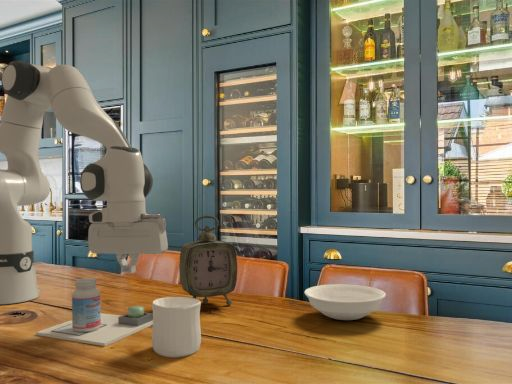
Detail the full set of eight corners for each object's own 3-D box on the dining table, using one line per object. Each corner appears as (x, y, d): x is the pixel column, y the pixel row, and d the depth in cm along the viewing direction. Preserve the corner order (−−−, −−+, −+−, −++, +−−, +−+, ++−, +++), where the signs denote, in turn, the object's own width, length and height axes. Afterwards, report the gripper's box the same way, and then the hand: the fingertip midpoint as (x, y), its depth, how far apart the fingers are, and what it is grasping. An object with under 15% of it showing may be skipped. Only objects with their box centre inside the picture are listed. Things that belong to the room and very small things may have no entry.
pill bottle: (91, 333, 101) (90, 282, 101) (66, 332, 102) (65, 282, 102) (106, 325, 107) (105, 277, 107) (82, 324, 108) (81, 276, 108)
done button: (125, 318, 109) (125, 308, 109) (134, 315, 112) (134, 305, 112) (137, 320, 108) (137, 310, 108) (146, 316, 111) (146, 306, 111)
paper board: (35, 334, 103) (35, 331, 103) (94, 314, 119) (94, 311, 119) (104, 346, 95) (104, 342, 95) (157, 322, 111) (157, 319, 111)
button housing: (118, 323, 109) (118, 317, 109) (134, 317, 114) (134, 311, 114) (138, 326, 106) (138, 319, 106) (153, 319, 111) (153, 313, 111)
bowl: (391, 311, 118) (391, 287, 118) (378, 334, 100) (377, 305, 100) (318, 304, 127) (317, 281, 127) (293, 324, 109) (292, 297, 109)
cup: (193, 359, 87) (192, 308, 87) (143, 357, 88) (142, 306, 88) (207, 343, 96) (206, 296, 96) (161, 340, 98) (161, 295, 98)
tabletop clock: (186, 312, 120) (185, 217, 120) (178, 304, 128) (176, 215, 128) (237, 306, 126) (236, 215, 126) (226, 299, 134) (225, 214, 134)
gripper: (171, 212, 108) (173, 271, 108) (100, 214, 115) (102, 269, 115) (157, 214, 102) (159, 276, 102) (83, 215, 109) (84, 273, 109)
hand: (128, 272), depth 108 cm, fingers closed
